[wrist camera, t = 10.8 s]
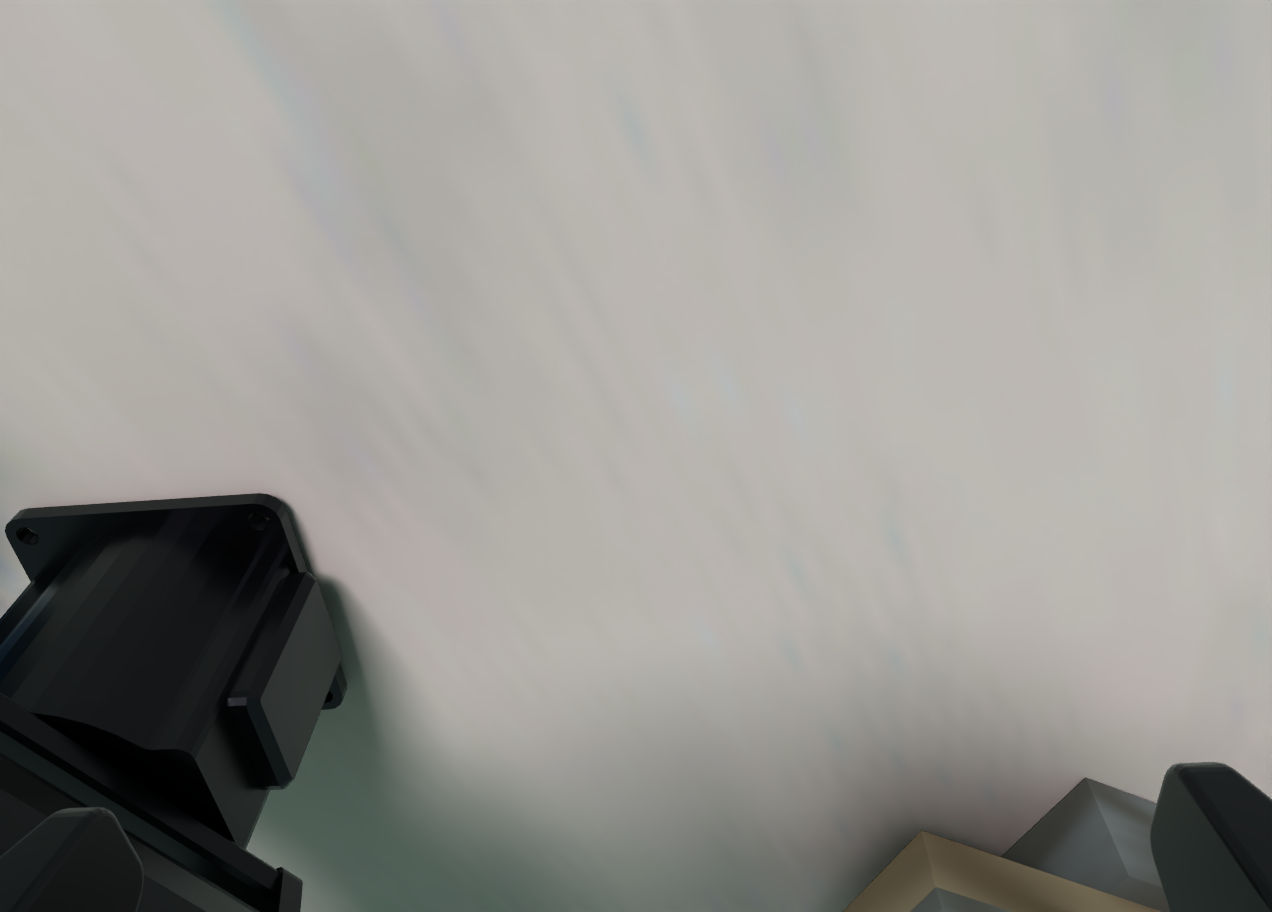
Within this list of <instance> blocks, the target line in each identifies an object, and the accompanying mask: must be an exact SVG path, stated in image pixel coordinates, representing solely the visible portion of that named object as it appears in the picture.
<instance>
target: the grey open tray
mask: <svg viewBox="0 0 1272 912" xmlns="http://www.w3.org/2000/svg"><path fill="white" fill-rule="evenodd" d="M1156 805H1157V804H1156V803H1153V802H1151V801H1148V800H1145V799H1142V798H1140V797H1137V796H1134V795H1132V794H1129V793H1126V792H1123V791H1121V790H1118V789H1115V788H1112V787H1110V786H1107V785H1104V784H1101V783H1099V782H1096V781H1093V780H1090V779H1088V778H1085V779H1084V780H1083V781H1082V782H1081V783H1080V784H1079V785H1078V786H1077V787H1075V788H1074V789H1073V790H1072V791H1071V792H1070V793H1069V794H1068V795H1067V796H1066V797H1065V798H1064V799H1063V800H1062V801H1061V802H1059V803H1058V804H1057V805H1056V806H1055V807H1054V808H1053V809H1052V810H1051V811H1050V812H1049V813H1048V814H1047V815H1046V816H1045V817H1044V818H1042V819H1041V820H1040V821H1039V822H1038V823H1037V824H1036V825H1035V826H1034V827H1033V828H1032V829H1031V830H1030V831H1029V832H1028V833H1026V834H1025V835H1024V836H1023V837H1022V838H1021V839H1020V840H1019V841H1018V842H1017V843H1016V844H1015V845H1014V846H1013V847H1012V848H1011V849H1009V850H1008V851H1007V852H1006V853H1005V854H1004V855H1003V856H1002V857H998V856H995V855H992V854H990V853H987V852H984V851H981V850H978V849H975V848H972V847H969V846H966V845H963V844H960V843H957V842H954V841H951V840H948V839H945V838H942V837H939V836H936V835H933V834H930V833H927V832H924V831H921V832H920V833H919V834H918V835H917V836H916V837H915V838H914V839H913V840H912V841H911V842H910V843H909V844H908V845H907V846H906V847H905V848H904V849H903V850H902V851H901V852H900V853H899V854H898V855H897V856H896V857H895V858H894V859H893V860H892V861H891V863H890V864H889V865H888V866H887V867H886V868H885V869H884V870H883V871H882V872H881V873H880V874H879V875H878V876H877V877H876V878H875V879H874V880H873V881H872V882H871V883H870V884H869V885H868V886H867V887H866V888H865V889H864V890H863V891H862V892H861V893H860V894H859V895H858V897H857V898H856V899H855V900H854V901H853V902H852V903H851V904H850V905H849V906H848V907H847V908H846V909H845V910H844V911H843V912H1170V910H1169V907H1168V904H1167V900H1166V897H1165V894H1164V891H1163V888H1162V884H1161V881H1160V878H1159V875H1158V872H1157V868H1156V865H1155V862H1154V859H1153V855H1152V850H1151V845H1150V827H1151V822H1152V819H1153V815H1154V812H1155V808H1156Z"/></svg>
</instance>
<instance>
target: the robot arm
mask: <svg viewBox="0 0 1272 912" xmlns="http://www.w3.org/2000/svg"><path fill="white" fill-rule="evenodd" d="M255 512H257V513H262V514H264V515H266V516H267V517H268V518H269V520H263V519H261V518H259V517H257V515H256V514H255ZM28 528H30V529H32V530H33V531H35V532H36V533H37V534H35V533H33V532H31V531H30V530H29V529H28ZM5 532H6V536H7V538H8V540H9V542H10V544H11V546H12V548H13V550H14V551H15V553H16V555H17V557H18V559H19V561H20V563H21V564H22V566H23V568H24V570H25V572H26V574H27V576H28V577H29V579H30V581H31V583H30V584H29V585H28V586H27V588H26V589H25V590H24V591H23V592H22V594H21V595H20V596H19V597H18V598H17V600H16V601H15V602H14V603H13V604H12V605H11V607H10V608H9V609H8V610H7V611H6V613H5V614H4V615H3V616H2V617H1V619H0V912H300V908H301V896H302V885H303V883H302V880H301V879H299V878H298V877H296V876H294V875H293V874H291V873H290V872H288V871H287V870H285V869H284V868H282V867H280V868H277V869H275V868H273V867H272V866H270V865H269V864H267V863H265V862H264V861H262V860H261V859H259V858H258V857H256V856H254V855H253V854H251V853H250V852H248V851H247V850H246V847H247V845H248V843H249V840H250V838H251V835H252V833H253V830H254V828H255V826H256V823H257V821H258V818H259V816H260V813H261V811H262V809H263V806H264V804H265V801H266V799H267V796H268V794H269V792H270V790H276V789H285V788H286V787H287V786H288V785H289V784H290V783H291V781H292V780H293V779H294V778H295V775H296V773H297V770H298V768H299V765H300V762H301V760H302V757H303V755H304V752H305V750H306V747H307V745H308V742H309V739H310V737H311V734H312V732H313V729H314V727H315V724H316V722H317V719H318V716H319V714H320V711H321V710H327V709H333V708H336V707H337V706H339V705H340V704H341V702H342V700H343V698H344V695H345V692H346V690H347V683H346V680H345V678H344V675H343V672H342V669H341V666H340V660H341V658H342V651H341V648H340V645H339V642H338V639H337V636H336V633H335V630H334V627H333V624H332V621H331V619H330V616H329V613H328V610H327V607H326V604H325V601H324V598H323V595H322V592H321V589H320V586H319V583H318V581H317V580H316V579H315V578H314V576H313V575H312V574H311V573H309V572H308V571H307V568H306V565H305V562H304V559H303V556H302V553H301V550H300V548H299V545H298V542H297V539H296V536H295V533H294V530H293V527H292V524H291V522H290V519H289V516H288V513H287V510H286V508H285V507H284V505H283V503H282V502H280V501H279V500H278V499H277V498H275V497H273V496H271V495H268V494H260V493H257V494H242V495H227V496H211V497H196V498H181V499H165V500H150V501H135V502H119V503H104V504H89V505H73V506H58V507H43V508H28V509H24V510H21V511H19V512H18V513H17V514H16V515H15V516H14V517H13V518H12V519H11V521H10V522H9V523H8V524H7V525H6V529H5ZM1150 845H1151V850H1152V855H1153V859H1154V862H1155V865H1156V868H1157V872H1158V875H1159V878H1160V881H1161V884H1162V888H1163V891H1164V894H1165V897H1166V900H1167V904H1168V907H1169V910H1170V912H1272V799H1271V798H1270V797H1268V796H1267V795H1266V794H1265V793H1263V792H1262V791H1261V790H1260V789H1258V788H1257V787H1256V786H1255V785H1253V784H1252V783H1251V782H1250V781H1248V780H1247V779H1246V778H1245V777H1243V776H1242V775H1241V774H1240V773H1238V772H1237V771H1236V770H1234V769H1233V768H1231V767H1229V766H1227V765H1225V764H1222V763H1217V762H1202V763H1179V764H1174V765H1173V766H1171V767H1170V768H1169V769H1168V770H1167V772H1166V774H1165V777H1164V780H1163V784H1162V787H1161V791H1160V794H1159V798H1158V801H1157V805H1156V808H1155V812H1154V815H1153V819H1152V822H1151V827H1150Z"/></svg>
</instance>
